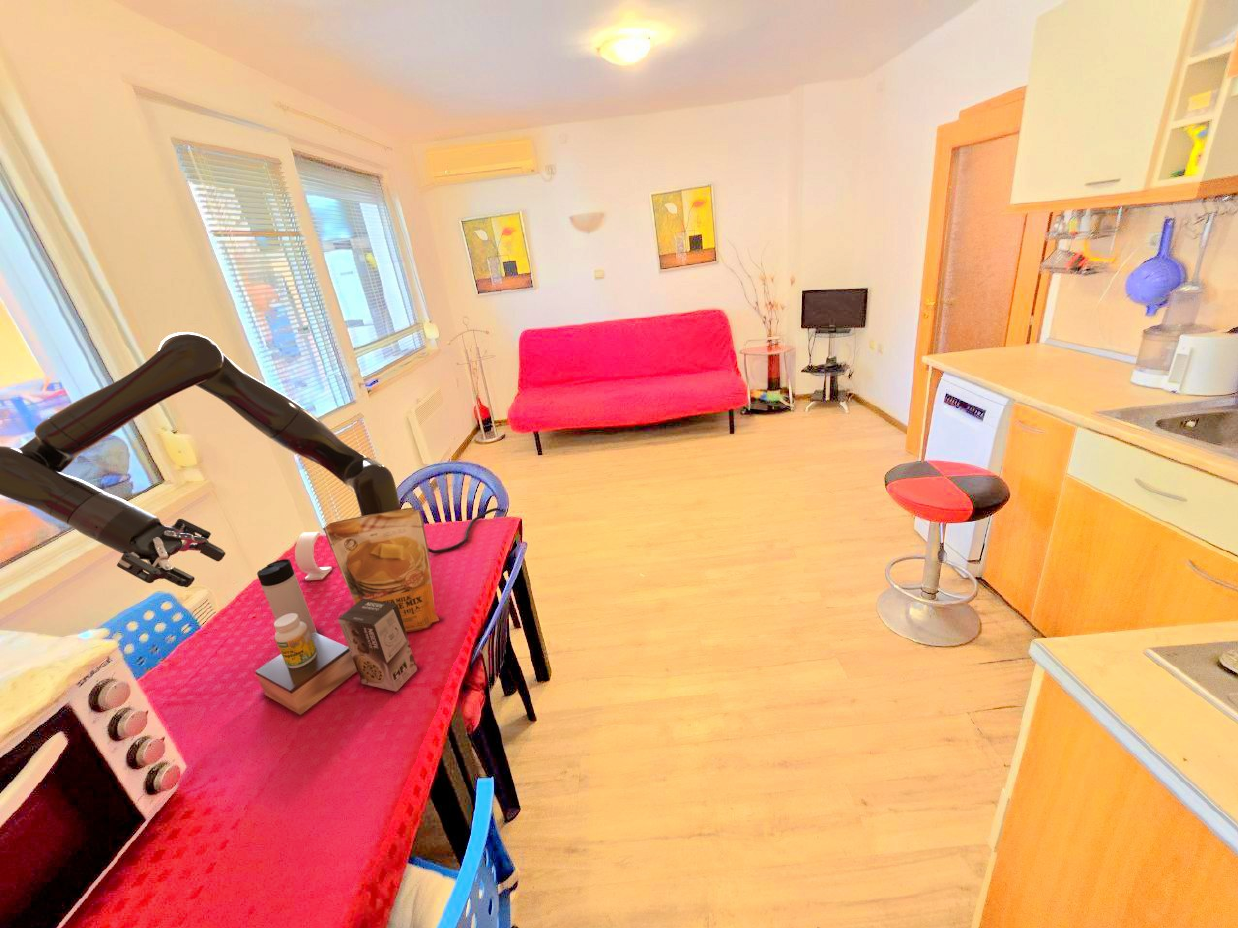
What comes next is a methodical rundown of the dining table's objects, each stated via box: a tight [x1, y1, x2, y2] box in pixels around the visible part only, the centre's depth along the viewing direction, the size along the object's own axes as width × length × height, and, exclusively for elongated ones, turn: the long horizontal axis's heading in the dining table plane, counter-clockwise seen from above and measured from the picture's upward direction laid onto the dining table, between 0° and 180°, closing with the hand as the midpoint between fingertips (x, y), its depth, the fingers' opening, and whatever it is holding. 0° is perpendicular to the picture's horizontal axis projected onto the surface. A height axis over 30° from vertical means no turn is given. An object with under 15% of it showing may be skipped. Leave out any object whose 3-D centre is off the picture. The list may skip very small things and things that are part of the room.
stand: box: [254, 632, 358, 716], centre depth 100 cm, size 12×12×6 cm
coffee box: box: [337, 599, 418, 693], centre depth 98 cm, size 9×6×16 cm
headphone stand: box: [294, 531, 333, 581], centre depth 137 cm, size 5×6×12 cm
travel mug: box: [256, 558, 318, 635], centre depth 110 cm, size 6×7×20 cm
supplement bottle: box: [273, 613, 317, 668], centre depth 97 cm, size 5×5×10 cm
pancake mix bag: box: [322, 507, 440, 633], centre depth 110 cm, size 7×19×28 cm, turn 102°
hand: (207, 569), depth 94 cm, fingers open, 8 cm apart
